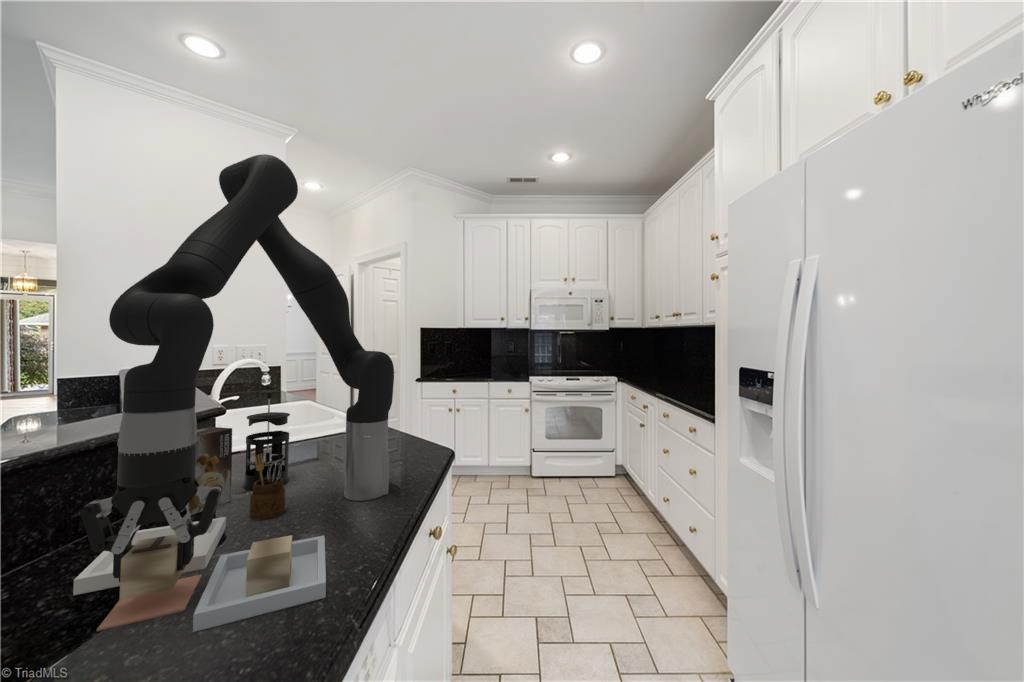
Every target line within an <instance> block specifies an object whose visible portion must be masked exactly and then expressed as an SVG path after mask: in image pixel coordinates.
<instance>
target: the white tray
mask: <svg viewBox="0 0 1024 682" xmlns="http://www.w3.org/2000/svg"><path fill="white" fill-rule="evenodd" d="M192 522H193V524H194V525H195V524H197V523H199V521H192ZM226 527H227V516H225V517H216V518H213V520H212V523H211V525H210V527H209V529H208V530H207V532H206V533H205V534H203V535H198V536H196V537H194V555H193V557H192V559H191V561H190V563H189V564H188V565H186V567H185V569H184V571H183V572H182V574H186V573H191V572H197V571H201V570H206V569H207V566H208V565H209V562H210V560H211V558H212V556H213V555H214V552H215V551H216V549H217V547H218V545H219V542H221V539H222V536H223V535H224V533H225V531H226V529H227V528H226ZM174 534H176V533H175V531H174V530H172V529H171V527H170V525H167V526H166V525H165V526H159V527H154V528H153V527H151V528H148V529H141V530H140V529H138V531H137V533H136V535H135V537H134V539H133V541H132V545H135V544H136V542H137V541H138V540H143V539H149V538H156V537H162V536H168V535H174ZM113 558H114V555H113V553H112V552H109V551H101V552H100V554H99V555H98V556H97V557H96V558H95V559H94V560H93V561H92V562H91V563H89V564H88V565H87V567H86V568H84V569H83V571H82V572H80V573H79V574H78V576H76V577H75V578H74V579H73V592H72V593H73V594H72V595H73V596H77V595H82V594H87V593H91V592H92V593H93V592H97V591H102V590H107V589H112V588H116V587H120V583H119V578H114V576H113Z"/></svg>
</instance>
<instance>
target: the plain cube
mask: <svg viewBox="0 0 1024 682" xmlns="http://www.w3.org/2000/svg"><path fill="white" fill-rule="evenodd" d="M292 541H293V535H287V536H285V535H284V536H281V537H277V538H276V537H275V538H271V539H264V540H260V541H253V542H252V544H251V546H250V549H249V550H250V552H249V555H248V558H247V575H246V597H250V596H254V595H258V594H262V593H266V592H270V591H275V590H279V589H283V588H287V587H289V585H290V576H291V567H292Z"/></svg>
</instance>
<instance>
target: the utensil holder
mask: <svg viewBox="0 0 1024 682" xmlns="http://www.w3.org/2000/svg"><path fill="white" fill-rule="evenodd" d="M253 457H255V465H256V470H257V471H259V472H260V479H261V480H258V481H256V482H255V483H254V484H253V490H254V491H252V492H251V494H250V502H249V518H250V519H251V520H254V521H264V520H270V519H273V518H276V517H279V516H281V515H282V514H284V513H285V511H286V489H285V487H284V486H285V485H284V481H283V479H282V478H280V477H270V478H269V475H268V477H267V478H264V479H263V476H262V470H263V469H264V466H265V465H264V463H263V457H262V454H260V457H261V463H260V457H259V454H258V455H257V457H258V464H257V458H256V455H255V454H254V456H253ZM272 464H273V463H272ZM274 464H275V462H274ZM279 464H280V463H279ZM255 465H254V466H255ZM270 465H271V464H270ZM275 465H276V464H275ZM271 466H272V465H271ZM278 466H279V465H278ZM268 469H269V468H268ZM274 469H276V468H274ZM270 470H271V469H270ZM270 470H269V471H270ZM281 470H282V467H281ZM279 472H280V471H279ZM267 474H268V472H267ZM278 474H279V473H278ZM273 475H275V474H274V473H273ZM280 475H281V474H280ZM278 476H279V475H278Z"/></svg>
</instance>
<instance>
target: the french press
mask: <svg viewBox="0 0 1024 682" xmlns="http://www.w3.org/2000/svg"><path fill="white" fill-rule="evenodd" d="M258 393H259V394H266V399H267V401H268V403H267V407H268V408H267V412H260V413H254V414H250V415H248V416H246V419H247V420H248V427H251V426H252V425H253V424H254V425H255V424H257V423H259V424H260V423H264V422H267V431H263V432H262V431H261V432H257V433H252V434H249V435H247V436H246V437H245V445H246V450H245V454H246V455H245V472H244V484H243V487H242V488H243V489H244V490H246V491H249V492H253V491H254V490H253V484H254V483H255V482H256V481H258V480H261V479H260V472H259V471H257V470H256V465H255V457H254V456H255V455H256V458H257V464H258V457H257V455H258V454H259V457H260V454H262V457H263V463H264V469H263V470H262V476H263V479H264V478H267V477H268V475H269V478H270V477H280V478H282V479H283V481H284V485H283V486H285V485H287V484H288V483H289V482H290V478H289V449H290V448H289V445H290V432H288V431H284V430H273V431H272V430H270V424H271V425H274V426H285V425H287V424H288V419H289V418H288V417H290V416H291V413H289V412H284V411H283V412H278V411H277V412H276V411H275V412H274V411H273V412H272V411H271V399H272V397H273V394H277V393H280V390H274V389H272V390H271V389H269V390H268V389H267V390H262V391H259V392H258ZM270 411H271V412H270ZM270 437H271V438H270ZM263 438H264V439H263ZM266 438H267V439H266ZM283 442H285V443H284V453H283ZM270 445H271V453H270V452H269V451H270V450H269V449H270V448H269V446H270ZM251 446H255V448H254V449H255V450H254V451H255V453H254V456H251V453H252V451H251V450H252V449H251ZM264 446H267V447H266V453H265V452H264V450H265V449H264ZM274 462H275V464H276V465H275V464H274ZM283 462H284V464H283ZM260 463H261V457H260ZM272 463H273V464H272ZM279 463H280V464H279ZM271 465H272V466H271ZM278 465H279V466H278ZM251 466H254V467H252V468H251ZM281 467H282V470H281ZM268 468H269V469H268ZM274 468H276V469H274ZM270 469H271V470H270ZM269 470H270V471H269ZM279 471H280V472H279ZM267 472H268V474H267ZM273 473H274V474H275V475H273ZM278 473H279V474H278ZM280 474H281V475H280ZM278 475H279V476H278ZM286 483H287V484H286Z"/></svg>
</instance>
